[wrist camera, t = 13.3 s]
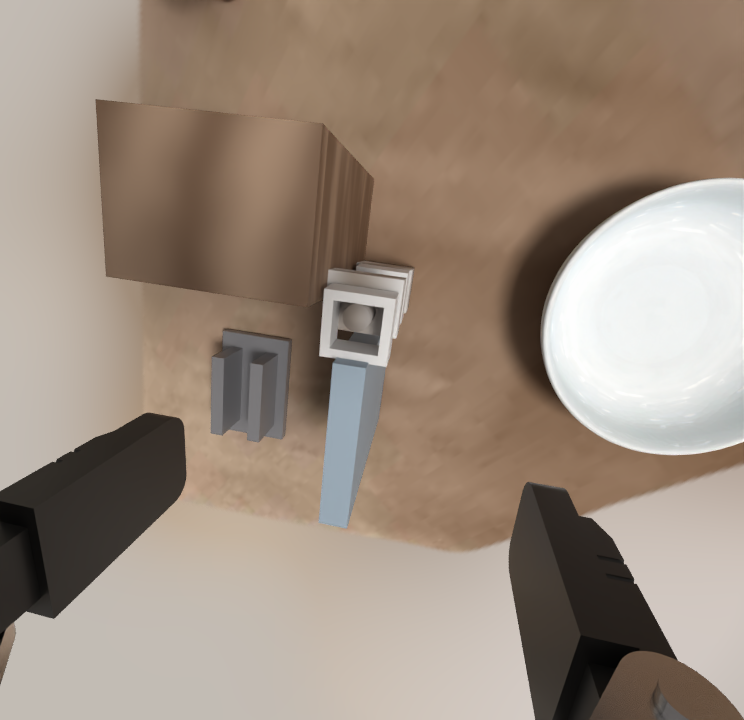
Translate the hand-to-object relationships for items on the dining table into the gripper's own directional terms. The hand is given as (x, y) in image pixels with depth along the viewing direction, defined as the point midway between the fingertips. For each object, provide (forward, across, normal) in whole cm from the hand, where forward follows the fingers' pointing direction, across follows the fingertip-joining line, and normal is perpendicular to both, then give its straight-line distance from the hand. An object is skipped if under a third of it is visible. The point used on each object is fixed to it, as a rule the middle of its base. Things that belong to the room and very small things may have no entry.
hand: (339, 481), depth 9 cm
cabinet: (+31, +10, -4) cm, 33 cm away
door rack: (+31, +16, +11) cm, 37 cm away
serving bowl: (+32, -20, -1) cm, 38 cm away
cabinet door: (+31, +4, +5) cm, 31 cm away
